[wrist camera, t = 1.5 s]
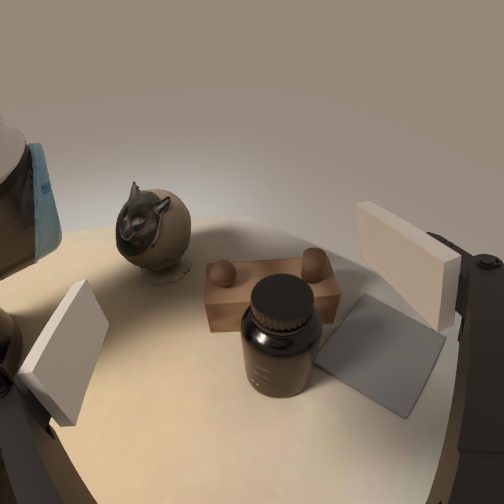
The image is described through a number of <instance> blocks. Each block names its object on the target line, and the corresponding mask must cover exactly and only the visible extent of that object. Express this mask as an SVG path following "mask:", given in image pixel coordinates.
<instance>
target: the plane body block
mask: <svg viewBox="0 0 504 504" xmlns="http://www.w3.org/2000/svg"><path fill="white" fill-rule="evenodd" d="M280 273H283V274H290V275H295V276H298V277H300V278H301V279H304V281H305V282H307V283H308V285H310V286H311V289H312V290H313V294H314V307H315V308H316V310H317V311H318V313H319V315H320V318H321V323H322V324H330V323H333V322H334V318H335V314H336V311H337V307H338V303H339V299H340V295H341V294H340V291H339V288H338V285H337V282H336V279H335V276H334V273H333V270H332V267H331V264H330V261H329V258H328V256H326V253H325V252H324V251H323V250H321V249H319V248H309V249H307V250H305V251H304V254H303V258H293V259H278V260H262V261H246V262H229V261H225V260H222V261H218V262H216V263H213V264H207V271H206V289H205V308H206V312H207V317H208V322H209V326H210V331H211V332H231V331H241V319H242V316H243V314H244V312H245V310H246V309H247V308H248V306H249V305H250V304H251V299H250V296H251V291H252V290H253V287H254V286H255V285H256V283H257V282H259V281H260V280H261V279H263V278H264V277H266V276H269V275H274V274H280Z"/></svg>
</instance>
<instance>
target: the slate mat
mask: <svg viewBox="0 0 504 504" xmlns="http://www.w3.org/2000/svg"><path fill="white" fill-rule="evenodd" d="M445 338H446V337H444V336H442V335H441V334H439V333H437V332H435V331H433V330H431V329H430V328H428V327H426V326H424V325H422V324H421V323H419V322H417V321H415V320H413V319H411V318H410V317H408V316H406V315H404V314H402V313H400V312H399V311H397V310H395V309H393V308H391V307H389V306H388V305H386V304H384V303H382V302H380V301H378V300H376V299H375V298H373V297H371V296H369V295H367V294H364V295H363V297H362V298H361V299H360V300H359V302H358V303H357V304H356V306H355V307H354V308H353V310H352V311H351V312H350V313H349V315H348V316H347V317H346V319H345V320H344V321H343V322H342V324H341V325H340V326H339V327H338V329H337V330H336V331H335V332H334V334H333V335H332V336H331V337H330V339H329V340H328V341H327V342H326V343H325V345H324V346H323V347H322V348H321V349H320V351H319V352H318V353H317V356H316V360H315V365H317V366H318V367H320V368H321V369H323V370H325V371H326V372H328V373H329V374H331V375H333V376H334V377H336V378H337V379H339V380H341V381H342V382H344V383H345V384H347V385H349V386H350V387H352V388H354V389H355V390H357V391H358V392H360V393H362V394H363V395H365V396H367V397H368V398H370V399H372V400H373V401H375V402H377V403H379V404H380V405H382V406H384V407H385V408H387V409H389V410H390V411H392V412H394V413H396V414H397V415H399V416H401V417H403V418H404V419H406V418H407V416H408V415H409V413H410V411H411V409H412V407H413V405H414V404H415V402H416V400H417V398H418V396H419V394H420V392H421V390H422V388H423V386H424V384H425V382H426V380H427V378H428V376H429V374H430V372H431V370H432V367H433V365H434V363H435V361H436V359H437V356H438V354H439V352H440V349H441V347H442V345H443V342H444V340H445Z"/></svg>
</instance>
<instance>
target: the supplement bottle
mask: <svg viewBox="0 0 504 504" xmlns="http://www.w3.org/2000/svg"><path fill="white" fill-rule="evenodd" d="M250 299H251V304H250V305H249V306H248V308H247V309H246V310H245V312H244V314H243V316H242V319H241V339H242V347H243V354H244V362H245V369H246V375H247V378H248V380H249V382H250V384H251V385H252V386H253V388H254V389H255V390H257V391H258V392H259V393H261V394H263V395H265V396H268V397H272V398H286V397H290V396H293V395H295V394H297V393H299V392H300V391H301V390H303V389H304V388H305V387H306V385H307V384H308V382H309V381H310V378H311V376H312V372H313V368H314V364H315V360H316V356H317V351H318V347H319V342H320V338H321V332H322V323H321V318H320V315H319V313H318V311H317V310H316V308H315V307H314V294H313V290H312V289H311V286H310V285H308V283H307V282H305V281H304V279H301V278H300V277H298V276H295V275H290V274H283V273H280V274H274V275H269V276H266V277H264V278H263V279H261V280H260V281H259V282H257V283H256V285H255V286H254V287H253V290H252V291H251V296H250Z"/></svg>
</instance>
